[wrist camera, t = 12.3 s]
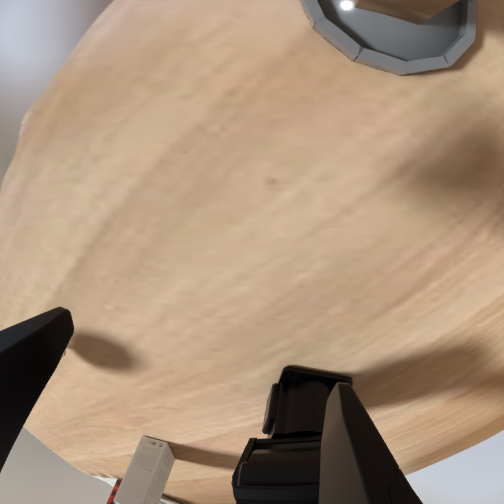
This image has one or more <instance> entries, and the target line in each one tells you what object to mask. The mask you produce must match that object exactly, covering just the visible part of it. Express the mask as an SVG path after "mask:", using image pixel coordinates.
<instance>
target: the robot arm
mask: <svg viewBox="0 0 504 504" xmlns="http://www.w3.org/2000/svg"><path fill="white" fill-rule="evenodd" d="M73 333H74V325H73V320H72V316H71V312H70V311H69V310H68V309H66V308H63V307H57V308H55V309H52V310H50V311H47V312H45V313H42V314H40V315H38V316H35V317H33V318H30V319H28V320H25V321H23V322H21V323H18V324H16V325H13V326H11V327H9V328H6V329H4V330H1V331H0V472H1V470H2V468H3V465H4V464H5V461H6V459H7V457H8V455H9V453H10V451H11V449H12V447H13V445H14V443H15V441H16V439H17V437H18V435H19V433H20V431H21V429H22V427H23V425H24V423H25V422H26V420H27V418H28V416H29V414H30V412H31V411H32V409H33V407H34V405H35V403H36V402H37V400H38V398H39V396H40V395H41V393H42V391H43V389H44V388H45V386H46V384H47V383H48V381H49V379H50V378H51V376H52V374H53V373H54V371H55V369H56V367H57V366H58V364H59V362H60V360H61V357H62V355H63V353H64V351H65V349H66V347H67V345H68V343H69V341H70V339H71V337H72V335H73ZM287 372H289V373H287ZM352 384H353V382H352V378H350V377H344V376H337V375H331V374H325V373H319V372H313V371H307V370H302V369H296V368H291V367H285V368H283V370H282V373H281V375H280V378H279V381H278V384H277V383H275V384H273V385H272V388H271V391H270V394H269V397H268V400H267V405H266V411H265V417H264V423H263V429H262V432H263V433H264V434H268V438H267V439H257V438H250V439H249V441H248V444H247V445H246V447H245V449H244V452H243V454H242V456H241V458H240V461H239V463H238V465H237V467H236V469H235V471H234V474H233V476H232V487H233V494H234V498H235V500H236V504H423V503H422V502H421V500H420V499H419V497H418V496H417V495H416V493H415V492H414V490H413V489H412V488H411V486H410V484H409V482H408V481H407V479H406V478H405V476H404V474H403V472H402V471H401V469H399V466H398V464H397V462H396V461H395V459H394V457H393V455H392V454H391V452H390V450H389V449H388V447H387V445H386V443H385V442H384V440H383V438H382V437H381V435H380V433H379V432H378V430H377V428H376V426H375V425H374V423H373V421H372V420H371V418H370V416H369V415H368V413H367V411H366V410H365V408H364V406H363V404H362V403H361V401H360V399H359V398H358V396H357V394H356V393H355V391H354V389H353V388H352Z"/></svg>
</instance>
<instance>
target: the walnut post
mask: <svg viewBox="0 0 504 504" xmlns="http://www.w3.org/2000/svg"><path fill="white" fill-rule="evenodd" d="M458 1H459V0H355V8H359V9H363V10H367V11H372V12H376V13H380V14H383V15H387V16H391V17H394V18H398V19H401V20H405V21H408V22H411V23H414V24H417V25H420V24H421V23H423V22H424V21H426V20H428V19H429V18H431V17H432V16H434V15H436V14H437V13H439V12H441V11H442V10H444V9H446V8H447V7H449V6H451V5H453V4H454V3H456V2H458Z"/></svg>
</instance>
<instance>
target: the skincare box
mask: <svg viewBox="0 0 504 504" xmlns="http://www.w3.org/2000/svg"><path fill="white" fill-rule="evenodd" d="M174 461H175V458H174V456H173V453H172V451H171V449H170V447H169V445H168V443H167V442H164V441H160V440H156V439H152V438H149V437H146V436H142V437H141V440H140V442H139V444H138V446H137V448H136V451H135V453H134V455H133V457H132V459H131V462H130V464H129V466H128V468H127V471H126V473H125V475H124V477H123V480H122V482H121V484H120V487H119V489H118V491H117V493H116V496H115V498H114V500H113V501H114V502H115V503H116V504H159V502H160V499H161V496H162V494H163V491H164V488H165V485H166V483H167V480H168V477H169V475H170V472H171V469H172V467H173V464H174Z"/></svg>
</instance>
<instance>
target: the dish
mask: <svg viewBox="0 0 504 504" xmlns="http://www.w3.org/2000/svg"><path fill="white" fill-rule="evenodd" d="M300 2H301V4H302V7H303V9H304V11H305V13H306V15H307V17H308V19H309V20H310V23H311V25H312V27H313V29H314V30H315V31H316V32H317V33H319V34H320V35H321V36H322V37H324V38H325V39H326V40H327V41H328V42H329V43H330V44H331V45H333V46H334V47H335V48H337V49H338V50H339V51H341V52H342V53H343V54H344V55H346V56H347V57H348V58H349V59H350V60H351V61H353V62H356V63H360V64H363V65H366V66H369V67H372V68H375V69H378V70H382V71H386V72H389V73H392V74H395V75H398V76H399V75H400V76H401V75H407V74H414V73H422V72H426V71H430V70H437V69H442V68H447V67H451V66H452V65H453V64H454V62H455V61H456V60H457V59H458V58H459V57H460V56H461V55H462V54H463V53H464V52H465V51H466V50H467V49H468V48H469V47H470V45H471V44H472V43H473V42H474V40H475V35H476V21H477V1H476V0H459V1H458V2H456V3H454V4H453V5H451V6H449V7H447V8H446V9H444V10H442V11H441V12H439V13H437V14H436V15H434V16H432V17H431V18H429V19H428V20H426V21H424V22H423V23H421V24H420V25H417V24H414V23H411V22H408V21H405V20H401V19H398V18H394V17H391V16H387V15H383V14H380V13H376V12H372V11H367V10H363V9H359V8H355V0H300Z"/></svg>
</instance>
